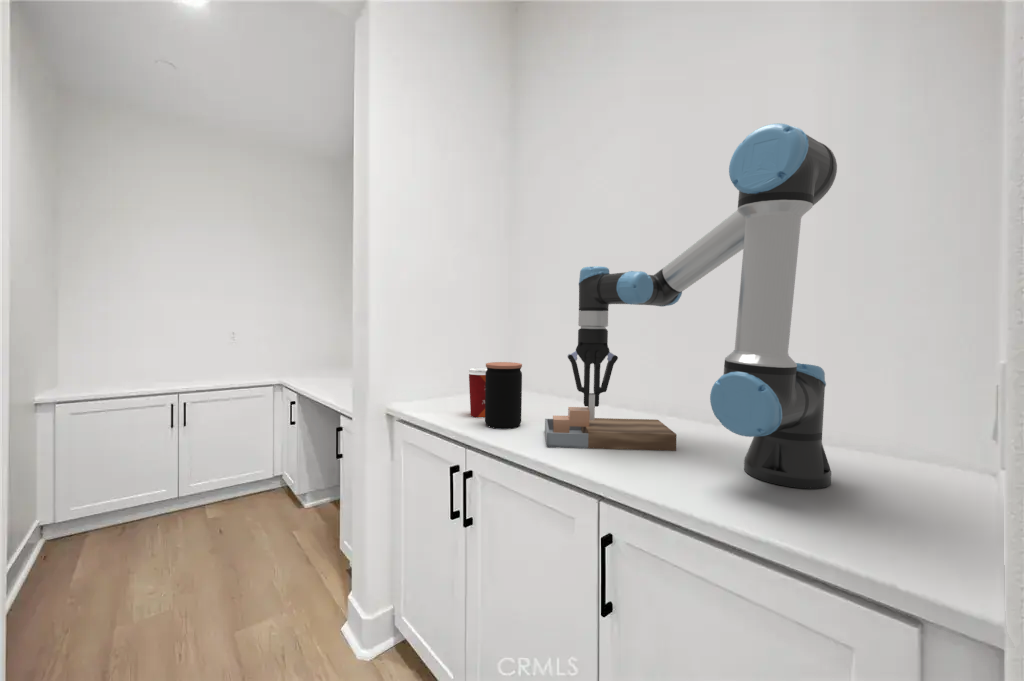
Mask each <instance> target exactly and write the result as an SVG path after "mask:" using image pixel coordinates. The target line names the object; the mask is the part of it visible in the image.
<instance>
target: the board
mask: <svg viewBox="0 0 1024 681" xmlns="http://www.w3.org/2000/svg"><path fill="white" fill-rule="evenodd" d="M581 431H582V433H588V448H587V449H593V450H594V449H597V450H599V449H601V450H602V449H603V450H637V451H639V450H640V451H641V450H642V451H670V452H671V451H672V452H673V451H674V452H676V451H677V433H676V432H674V431H673V430H672V429H671V428H669V427H668V426H667V425H665V424H664V423H663V422H662V421H660V419H650V418H649V419H647V418H645V419H644V418H611V417H610V418H609V417H608V418H607V417H604V418H603V417H595V418H594V420H589V427H581Z"/></svg>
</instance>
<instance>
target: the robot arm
mask: <svg viewBox="0 0 1024 681" xmlns="http://www.w3.org/2000/svg"><path fill="white" fill-rule="evenodd" d="M837 172H838V164H837V159H836V157H835V155H834V152H833V151H832V149H831V148H830V147H828V146H827V145H826V144H824V143H823V142H820V141H818V140H817V139H815V138H813V137H812V136H810V135H809V134H807V133H806V132H805V131H803V129H801V128H800V127H796V126H792V125H790V124H786V123H770V124H767V125H763V126H761V127H759V128H757V129H755V130H753V132H751V133H749V134H748V135H747V136H746V137H745V138H744V139H743V141H741V142H740V143H739V144H738V146H737V147H736V149H734V152H733V154H732V156H731V159H730V161H729V167H728V175H729V179H730V182H731V183H732V184H733V186H734V188H735V189H736V190H737V191H738V197H737V198H738V199H737V200H738V201H737V210H735V211H734V212H733V213H731V214H730V215H729V216H728V217H727V218H725V219H724V220H723V221H722V222H720V223H719V224H717V225H716V226H714V227H713V228H712V229H711V230H709V232H707V233H706V234H705V235H704V236H702V237H701V238H699V239H698V240H697V241H695V242H694V244H692V245H690V246H689V247H688V248H687V249H686V250H684V251H683V252H682V253H681V254H679V255H678V256H677V257H675V258H674V259H672V261H670V262H669V263H668V264H667V265H665V266H664V267H663V268H661V269H660V270H658V271H657V272H656V273H655V274H648V272H645V271H641V270H640V271H637V270H628V271H625V272H617V273H610V268H608V267H606V266H597V265H596V266H585V267H583V268H581V269H580V272H579V281H578V322H577V323H578V327H580V328H578V331H577V346H576V347H575V351H573V352H572V353H568V354H567V359H568V360H569V362H570V363H571V369H572V372H573V376H574V381H575V386H576V390H577V391H578V392H579V393H583V407H587V408H588V409H589V411H590V415H589V420H594V418H596V417H595V416H596V415H595V412H596V410H595V409H596V408H595V407H599V406H600V395H601V394H602V393H606V392H607V390H608V388H609V384H610V380H611V376H612V373H613V368H614V365H615V364H616V362H617V361H618V359H619V357H618V356H617V355H616V354H613V353H612V352H611V351H610V347H609V345H608V344H609V342H608V340H609V338H608V337H609V336H608V335H609V330H608V329H607V327H608V326H609V307H610V306H609V305H630V306H631V305H636V306H655V307H656V306H657V307H668V306H672V305H675V304H676V303H678V302H679V300H680V299H681V297H682V294H683V292H684V291H685V290H686V289H688V288H689V287H691V286H692V285H694V284H695V283H697V282H698V281H699V280H702V278H703V277H705V276H707V275H708V274H709V273H711V272H712V271H713V270H715V269H717V268H718V267H719V266H721V265H722V264H724V263H725V262H727V261H728V260H730V258H733V256H735V255H737V254H738V253H740V252H741V251H742V262H741V273H740V285H739V297H738V305H737V306H738V308H737V316H736V317H737V319H736V328H735V329H736V330H735V341H734V342H735V343H734V350H733V351H732V352H730V354H728V355H726V357H724V362H723V363H724V364H723V365H724V366H723V374H722V375H721V376H720V377H719V378H718V379H717V380H716V381H714V384H713V385H712V388H711V390H710V394H709V402H710V406H711V410H712V413H713V414H714V417H715V418H716V419H717V420H718V422H720V423H721V425H722V426H723V427H724V428H725V429H727V430H729V431H730V432H731V433H734V434H735V435H738V436H742V437H745V438H747V437H749V438H752V441H751V443H750V445H749V447H748V450H747V452H746V454H745V456H744V460H743V461H744V463H743V464H744V465H743V470H744V472H746V474H748V475H749V476H751V477H753V478H756V479H758V480H760V481H764V482H766V483H770V484H774V485H779V486H784V487H789V488H796V489H808V490H809V489H810V490H811V489H813V490H814V489H823V488H827V487H829V486H831V484H832V470H831V467H830V464H829V463H830V462H829V461H828V457H827V454H826V451H825V448H824V445H823V430H824V429H823V428H824V408H825V407H824V406H825V391H826V386H827V383H826V378H825V377H826V376H825V375H826V373H825V371H824V369H823V368H822V367H821V366H819V365H815V364H810V363H809V364H808V363H799V362H795V360H793V358H791V356H790V354H789V347H790V338H791V337H790V336H791V327H792V326H791V325H792V318H793V317H792V316H793V315H792V314H793V306H794V294H795V287H796V286H795V284H796V274H797V266H798V257H799V256H798V254H799V244H800V234H801V222H802V218H803V216H804V215H805V214H806V213H808V212H809V211H810V210H812V209H813V208H814V207H813V206H815V205H816V204H817V203H818V202H820V201H821V200H822V199H823V198H824V197H825V195H827V194H828V192H829V191H830V190H831V188H832V186H833V185H834V183H835V180H836V176H837ZM578 357H579V359H580V360H581V361H582V363H583V368H584V369H583V386H582V381H581V375H580V372H579V366H578V364H577V360H578ZM606 358H607V363H606V367H605V370H604V374H603V378H602V381H601V363H603V361H604V360H605V359H606ZM591 365H593V393H592V392H590V390H591V389H590V388H591V387H590V386H591V385H590V383H591V382H590V380H591Z"/></svg>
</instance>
